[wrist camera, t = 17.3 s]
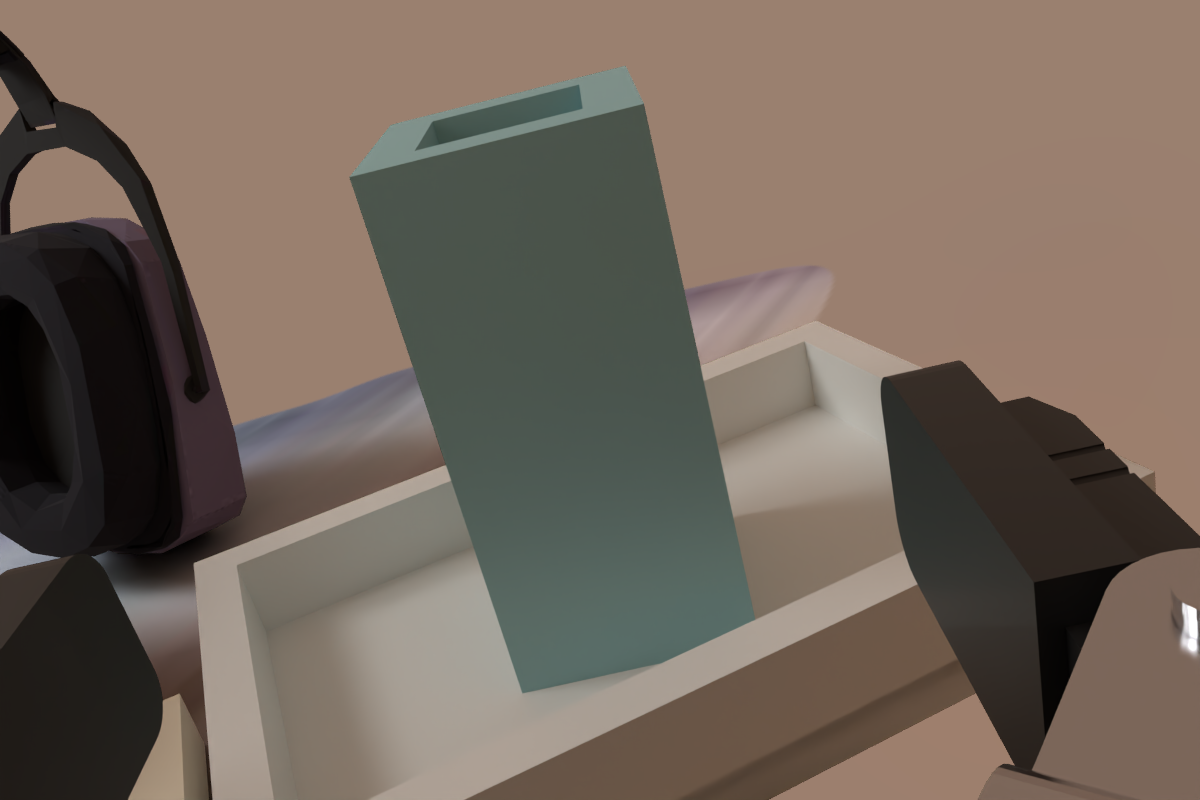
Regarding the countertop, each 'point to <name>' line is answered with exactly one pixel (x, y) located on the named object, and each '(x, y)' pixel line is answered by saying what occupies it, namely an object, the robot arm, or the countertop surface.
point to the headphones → (101, 361)
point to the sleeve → (561, 373)
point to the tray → (607, 703)
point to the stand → (174, 759)
